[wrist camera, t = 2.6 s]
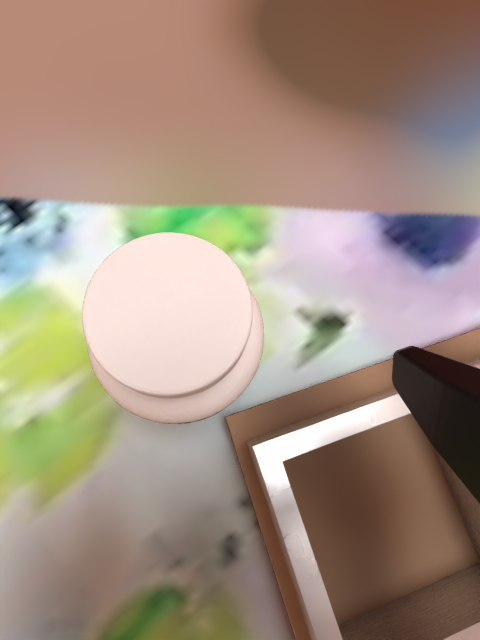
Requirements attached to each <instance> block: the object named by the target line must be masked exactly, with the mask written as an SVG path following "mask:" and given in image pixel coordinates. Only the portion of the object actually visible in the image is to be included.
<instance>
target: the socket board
mask: <svg viewBox="0 0 480 640" xmlns="http://www.w3.org/2000/svg"><path fill="white" fill-rule="evenodd" d="M422 349H424V350H427V351H430V352H433V353H436V354H439V355H442V356H445V357H448V358H450V359H453V360H456V361H459V362H462V363H463V362H465V361H468V360H471V359H474V358H477V357H479V356H480V328H479V329H476V330H474V331H471V332H468V333H465V334H462V335H459V336H456V337H453V338H451V339H448V340H445V341H442V342H439V343H436V344H433V345H430V346H428V347H425V348H422ZM392 365H393V359H390V360H387V361H384V362H382V363H379V364H376V365H373V366H370V367H367V368H364V369H361V370H359V371H356V372H353V373H350V374H347V375H344V376H341V377H338V378H335V379H333V380H330V381H327V382H324V383H321V384H318V385H315V386H312V387H310V388H307V389H304V390H301V391H298V392H295V393H292V394H289V395H287V396H284V397H281V398H278V399H275V400H272V401H269V402H266V403H264V404H261V405H258V406H255V407H252V408H249V409H246V410H243V411H241V412H238V413H235V414H232V415H229V416H226V417H225V419H226V422H227V425H228V428H229V431H230V434H231V438H232V441H233V444H234V447H235V450H236V453H237V456H238V460H239V463H240V466H241V469H242V472H243V475H244V478H245V482H246V485H247V488H248V491H249V494H250V497H251V500H252V504H253V507H254V510H255V513H256V516H257V519H258V522H259V525H260V529H261V532H262V535H263V538H264V541H265V544H266V547H267V551H268V554H269V557H270V560H271V563H272V566H273V569H274V573H275V576H276V579H277V582H278V585H279V588H280V591H281V595H282V598H283V601H284V604H285V607H286V610H287V613H288V617H289V620H290V623H291V626H292V629H293V632H294V635H295V639H296V640H310V637H309V634H308V631H307V628H306V624H305V621H304V618H303V615H302V612H301V609H300V606H299V603H298V600H297V597H296V594H295V591H294V588H293V584H292V581H291V578H290V575H289V572H288V569H287V566H286V563H285V560H284V557H283V554H282V551H281V548H280V545H279V541H278V538H277V535H276V532H275V529H274V526H273V523H272V520H271V517H270V514H269V511H268V508H267V505H266V501H265V498H264V495H263V492H262V489H261V486H260V483H259V480H258V477H257V474H256V471H255V468H254V465H253V462H252V458H251V455H250V452H249V449H248V446H247V443H246V440H249V439H252V438H254V437H257V436H260V435H263V434H265V433H268V432H271V431H274V430H277V429H279V428H282V427H285V426H288V425H290V424H293V423H296V422H299V421H302V420H304V419H307V418H310V417H313V416H315V415H318V414H321V413H324V412H327V411H329V410H332V409H335V408H338V407H340V406H343V405H346V404H349V403H352V402H354V401H357V400H360V399H363V398H365V397H368V396H371V395H374V394H377V393H379V392H382V391H385V390H388V389H390V388H393V387H394V385H393V383H392ZM282 463H283V466H284V469H285V472H286V475H287V478H288V481H289V483H290V486H291V489H292V492H293V495H294V498H295V501H296V504H297V507H298V510H299V513H300V516H301V519H302V522H303V525H304V528H305V530H306V533H307V536H308V539H309V542H310V545H311V548H312V551H313V554H314V557H315V560H316V563H317V566H318V569H319V572H320V575H321V577H322V580H323V583H324V586H325V589H326V592H327V595H328V598H329V601H330V604H331V607H332V610H333V613H334V616H335V619H336V622H337V624H338V625H340V624H342V623H344V622H346V621H349V620H351V619H353V618H355V617H358V616H360V615H362V614H364V613H366V612H369V611H371V610H373V609H375V608H378V607H380V606H382V605H384V604H386V603H389V602H391V601H393V600H395V599H398V598H400V597H402V596H404V595H406V594H409V593H411V592H413V591H415V590H418V589H420V588H422V587H424V586H426V585H429V584H431V583H433V582H435V581H438V580H440V579H442V578H444V577H446V576H449V575H451V574H453V573H455V572H458V571H460V570H462V569H464V568H466V567H469V566H471V565H473V564H475V563H478V562H480V559H479V557H478V554H477V552H476V549H475V547H474V545H473V542H472V540H471V538H470V535H469V533H468V530H467V528H466V526H465V523H464V521H463V519H462V516H461V514H460V511H459V509H458V507H457V504H456V502H455V500H454V497H453V495H452V492H451V490H450V488H449V485H448V483H447V481H446V478H445V476H444V473H443V471H442V469H441V466H440V464H439V462H438V459H437V457H436V454H435V452H434V450H433V447H432V445H431V443H430V441H429V440H428V438H427V437H426V435H425V434H424V432H423V431H422V429H421V428H420V426H419V424H418V423H417V421H416V420H415V418H414V417H413V415H412V414H411V413H410V414H407V415H404V416H402V417H399V418H396V419H394V420H391V421H388V422H385V423H383V424H380V425H377V426H375V427H372V428H369V429H367V430H364V431H361V432H359V433H356V434H353V435H351V436H348V437H345V438H343V439H340V440H337V441H335V442H332V443H329V444H327V445H324V446H321V447H319V448H316V449H313V450H311V451H308V452H305V453H302V454H300V455H297V456H294V457H292V458H289V459H286V460H284V461H282Z"/></svg>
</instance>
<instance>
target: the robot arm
mask: <svg viewBox="0 0 480 640" xmlns="http://www.w3.org/2000/svg"><path fill="white" fill-rule="evenodd" d="M392 383H393V385H394V388H395V389H396V391H397V392H398V394H399V395H400V397H401V399H402V400H403V402H404V403H405V405H406V406H407V408H408V409H409V411H410V412H411V414H412V415H413V417H414V418H415V420H416V421H417V423H418V424H419V426H420V428H421V429H422V431H423V432H424V434H425V435H426V437H427V438H428V440H429V441H430V442H431V444H432V445H433V447H434V448H435V449H436V450H437V452H438V453H439V454H440V456H441V457H442V458H443V459H444V461H445V462H446V463H447V464H448V465H449V467H450V468H451V469H452V470H453V472H454V473H455V474H456V475H457V476H458V478H459V479H460V480H461V481H462V483H463V484H464V485H465V486H466V488H467V489H468V490H469V491H470V492H471V494H472V495H473V496H474V497H475V499H476V500H477V501H478V502H479V504H480V368H477V367H474V366H471V365H468V364H465V363H462V362H459V361H456V360H453V359H450V358H448V357H445V356H442V355H439V354H436V353H433V352H430V351H427V350H424V349H421V348H418V347H415V346H408V347H406V348H403V349H400V350H397V351H395V353H394V355H393V365H392Z"/></svg>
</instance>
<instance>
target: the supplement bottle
mask: <svg viewBox="0 0 480 640" xmlns="http://www.w3.org/2000/svg"><path fill="white" fill-rule="evenodd" d="M82 323H83V330H84V335H85V339H86V341H87V348H88V354H89V358H90V362H91V365H92V368H93V370H94V373H95V375H96V376H97V378H98V380H99V382H100V383H101V385H102V386H103V387H104V389H105V390H106V391H107V392H108V394H109V395H110V396H111V397H112V398H113V399H114V400H115V401H116V402H117V403H118V404H120V405H121V406H122V407H123V408H125V409H126V410H128V411H130V412H131V413H133V414H135V415H137V416H140V417H142V418H144V419H147V420H151V421H155V422H161V423H167V424H182V423H190V422H195V421H199V420H202V419H206V418H208V417H211V416H212V415H214V414H216V413H218V412H220V411H222V410H223V409H225V408H226V407H227V406H229V405H230V404H231V403H233V402H234V401H235V400H236V399H237V398H238V397H239V396H240V395H241V394H242V392H243V391H244V390H245V389H246V387H247V386H248V385H249V383H250V382H251V380H252V378H253V377H254V375H255V373H256V371H257V368H258V366H259V363H260V360H261V356H262V351H263V345H264V326H263V320H262V315H261V311H260V309H259V306H258V303H257V301H256V299H255V297H254V295H253V294H252V292H251V290H250V289H249V287H248V285H247V282H246V280H245V278H244V276H243V274H242V272H241V271H240V269H239V268H238V267H237V265H236V264H235V263H234V261H233V260H232V259H231V258H230V257H229V256H228V255H227V254H226V253H225V252H223V251H222V250H221V249H219V248H218V247H216V246H215V245H213V244H211V243H210V242H208V241H205V240H203V239H200V238H198V237H195V236H192V235H188V234H182V233H170V232H166V233H156V234H151V235H146V236H143V237H140V238H137V239H135V240H132V241H130V242H128V243H126V244H125V245H123V246H121V247H120V248H118V249H117V250H115V251H114V252H113V253H112V254H110V255H109V256H108V257H107V258H106V259H105V260H104V261H103V262H102V264H101V265H100V266H99V268H98V269H97V270H96V272H95V274H94V275H93V277H92V279H91V281H90V283H89V285H88V287H87V290H86V293H85V297H84V302H83V308H82Z"/></svg>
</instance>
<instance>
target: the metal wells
mask: <svg viewBox="0 0 480 640" xmlns="http://www.w3.org/2000/svg"><path fill="white" fill-rule="evenodd" d="M463 363H465V364H468V365H471V366H474V367H477V368H480V356H479V357H477V358H474V359H471V360H468V361H465V362H463ZM410 413H411V412H410V411H409V409H408V408H407V406H406V405H405V403H404V402H403V400H402V399H401V397H400V395H399V394H398V392H397V391H396V389H395V388H394V387H393V388H390V389H388V390H385V391H382V392H379V393H377V394H374V395H371V396H368V397H365V398H363V399H360V400H357V401H354V402H352V403H349V404H346V405H343V406H340V407H338V408H335V409H332V410H329V411H327V412H324V413H321V414H318V415H315V416H313V417H310V418H307V419H304V420H302V421H299V422H296V423H293V424H290V425H288V426H285V427H282V428H279V429H277V430H274V431H271V432H268V433H265V434H263V435H260V436H257V437H254V438H252V439H249V440H246V443H247V446H248V449H249V452H250V455H251V458H252V462H253V465H254V468H255V471H256V474H257V477H258V480H259V483H260V486H261V489H262V492H263V495H264V498H265V501H266V505H267V508H268V511H269V514H270V517H271V520H272V523H273V526H274V529H275V532H276V535H277V538H278V541H279V545H280V548H281V551H282V554H283V557H284V560H285V563H286V566H287V569H288V572H289V575H290V578H291V581H292V584H293V588H294V591H295V594H296V597H297V600H298V603H299V606H300V609H301V612H302V615H303V618H304V621H305V624H306V628H307V631H308V634H309V637H310V640H480V562H478V563H475V564H473V565H471V566H469V567H466V568H464V569H462V570H460V571H458V572H455V573H453V574H451V575H449V576H446V577H444V578H442V579H440V580H438V581H435V582H433V583H431V584H429V585H426V586H424V587H422V588H420V589H418V590H415V591H413V592H411V593H409V594H406V595H404V596H402V597H400V598H398V599H395V600H393V601H391V602H389V603H386V604H384V605H382V606H380V607H378V608H375V609H373V610H371V611H369V612H366V613H364V614H362V615H360V616H358V617H355V618H353V619H351V620H349V621H346V622H344V623H342V624H340V625H338V624H337V622H336V619H335V616H334V613H333V610H332V607H331V604H330V601H329V598H328V595H327V592H326V589H325V586H324V583H323V580H322V577H321V575H320V572H319V569H318V566H317V563H316V560H315V557H314V554H313V551H312V548H311V545H310V542H309V539H308V536H307V533H306V530H305V528H304V525H303V522H302V519H301V516H300V513H299V510H298V507H297V504H296V501H295V498H294V495H293V492H292V489H291V486H290V483H289V481H288V478H287V475H286V472H285V469H284V466H283V463H282V461H284V460H286V459H289V458H292V457H294V456H297V455H300V454H302V453H305V452H308V451H311V450H313V449H316V448H319V447H321V446H324V445H327V444H329V443H332V442H335V441H337V440H340V439H343V438H345V437H348V436H351V435H353V434H356V433H359V432H361V431H364V430H367V429H369V428H372V427H375V426H377V425H380V424H383V423H385V422H388V421H391V420H394V419H396V418H399V417H402V416H404V415H407V414H410ZM430 443H431V442H430ZM431 445H432V444H431ZM432 447H433V445H432ZM433 450H434V452H435V454H436V457H437V459H438V462H439V464H440V466H441V469H442V471H443V473H444V476H445V478H446V481H447V483H448V485H449V488H450V490H451V492H452V495H453V497H454V500H455V502H456V504H457V507H458V509H459V511H460V514H461V516H462V519H463V521H464V523H465V526H466V528H467V530H468V533H469V535H470V538H471V540H472V542H473V545H474V547H475V549H476V552H477V554H478V557H479V559H480V504H479V502H478V501H477V500H476V499H475V497H474V496H473V495H472V494H471V492H470V491H469V490H468V489H467V488H466V486H465V485H464V484H463V483H462V481H461V480H460V479H459V478H458V476H457V475H456V474H455V473H454V472H453V470H452V469H451V468H450V467H449V465H448V464H447V463H446V462H445V461H444V459H443V458H442V457H441V456H440V454H439V453H438V452H437V450H436V449H435V448H434V447H433Z"/></svg>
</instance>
